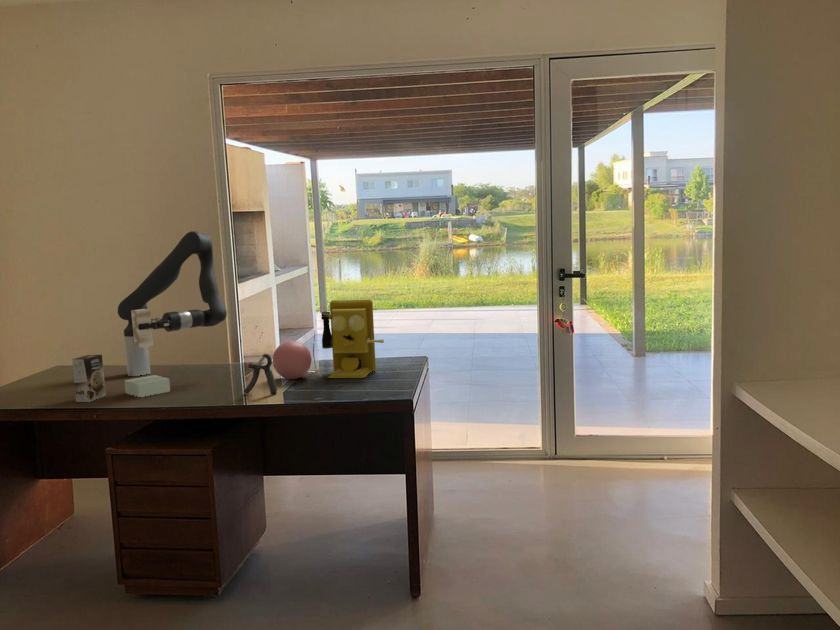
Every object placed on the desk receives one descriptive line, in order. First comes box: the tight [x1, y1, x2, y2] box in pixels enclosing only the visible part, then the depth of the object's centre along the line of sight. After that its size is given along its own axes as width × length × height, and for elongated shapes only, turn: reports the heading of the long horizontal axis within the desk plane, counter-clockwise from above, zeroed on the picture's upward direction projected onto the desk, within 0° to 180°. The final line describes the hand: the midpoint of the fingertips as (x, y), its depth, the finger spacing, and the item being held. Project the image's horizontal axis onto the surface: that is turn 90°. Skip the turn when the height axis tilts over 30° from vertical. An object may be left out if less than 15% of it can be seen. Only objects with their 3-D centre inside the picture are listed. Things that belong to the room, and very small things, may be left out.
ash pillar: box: [131, 308, 154, 348], centre depth 265 cm, size 5×5×14 cm
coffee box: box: [71, 354, 107, 403], centre depth 260 cm, size 9×6×16 cm
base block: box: [124, 374, 171, 398], centre depth 268 cm, size 12×12×5 cm
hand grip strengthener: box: [243, 353, 278, 395], centre depth 257 cm, size 2×13×15 cm, turn 78°
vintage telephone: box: [312, 299, 384, 379], centre depth 283 cm, size 31×14×30 cm, turn 80°
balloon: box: [272, 340, 313, 380], centre depth 284 cm, size 15×20×15 cm
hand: (135, 326), depth 263 cm, fingers closed on ash pillar, 5 cm apart
